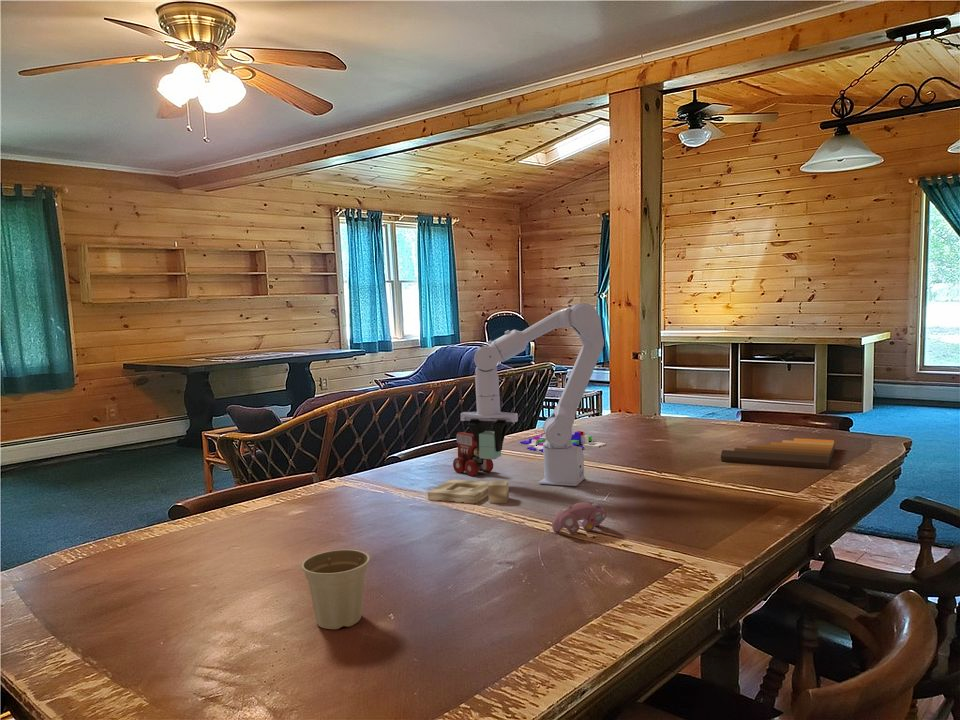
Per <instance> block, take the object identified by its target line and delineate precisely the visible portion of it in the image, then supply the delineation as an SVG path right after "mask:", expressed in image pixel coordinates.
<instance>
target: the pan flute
mask: <svg viewBox="0 0 960 720" xmlns="http://www.w3.org/2000/svg"><path fill="white" fill-rule="evenodd" d="M835 447H836V444H835V440H834V439H818V438H817V439H816V438H814V439H813V438H798V437H795V438H793V440H785V439H782V441H781V442H777V441H776V442H775V441H771V442H770V444H768V443H767V444H766V443H765V444H763V443H759V444H758V446H756V445H755V446H754V445H746V448H743V447H741V448H740V447H734V450H732V449H731V450H727V449H722V450H721V454H720V461H721V462H722V463H736V464H737V463H738V464H751V465H764V466H780V467H783V466H784V467H791V468H792V467H795V468H805V469H806V468H807V469H808V468H809V469H822V470H828V469H829V466H830V463H831V461H832V457H833V455H834V452H835Z"/></svg>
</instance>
